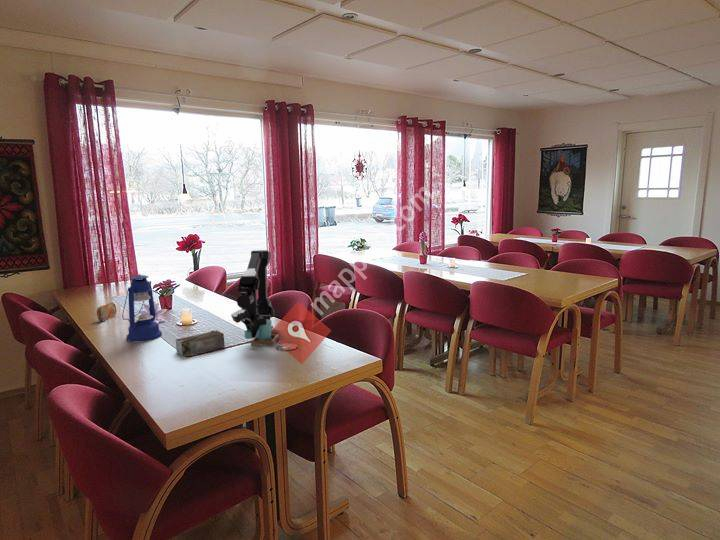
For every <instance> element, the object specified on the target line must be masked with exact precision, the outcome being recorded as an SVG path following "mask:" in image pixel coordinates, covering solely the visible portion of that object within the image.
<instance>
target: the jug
mask: <svg viewBox="0 0 720 540" xmlns="http://www.w3.org/2000/svg"><path fill="white" fill-rule="evenodd" d="M266 320H267V324H266V325H261V326H260V327H259V329H258V331H257V334H256V336H255V338H257V337H258V340H264V341H272V339H271V334H272V328H271V326H273V325H272V324H273V323H272V322H273V321H272V319H271V320H268V319H266ZM244 338H245V339H246V340H249V339H250V340H252V339H253V338H252V334H251V330H247V329H246V330H244Z"/></svg>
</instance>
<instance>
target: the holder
mask: <svg viewBox="0 0 720 540" xmlns="http://www.w3.org/2000/svg"><path fill="white" fill-rule="evenodd" d="M271 338H272V339H271V341H264V340H258V337H257V338H251V339H250V345H251V346H270V345H273V346H274V345H275V344H276V343H277V342H278V340H279V339H278V338H280V335H279V334H272V333H271ZM277 339H278V340H277ZM275 342H276V343H275ZM274 343H275V344H274Z"/></svg>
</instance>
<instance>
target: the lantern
mask: <svg viewBox="0 0 720 540" xmlns="http://www.w3.org/2000/svg"><path fill="white" fill-rule="evenodd" d="M148 278H149V276H148V275H146V274H145V275H144V274H137V275H134V276H131V277H129V279H130V280H131V282H130V287H128V288H127V290H126V291H127V292H126V297H125V301H124V307H123V310H122V320H123V321H125V320H128V322H129V326H128V333H127V335H126V340H127V341H128V340H129V341H128V342H132V341H142V342H147V341H148V340H149V341H153V340H155V339H159V338H161V337H162V336H161V335H162V331H161V330H160V326H159V323H157V322H155V321H154V320H155V308H154V302H155V301H154V294H153V288H152V281H149V280H148ZM127 298H128V317H129V318H124V311H125V307H126V304H127ZM145 301H148V306H149V307H150V308H149V311H150V315H145V314H140V311H142V310H143V309H144V305H143V304H145ZM135 302H139V304H140V305H141V308H140V309H139V310H137V311H136V314H135ZM140 302H142V303H140ZM145 307H146V306H145ZM137 312H138V313H137ZM139 314H140V315H139ZM160 336H161V337H160Z"/></svg>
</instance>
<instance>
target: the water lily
mask: <svg viewBox="0 0 720 540" xmlns="http://www.w3.org/2000/svg"><path fill="white" fill-rule="evenodd" d="M142 304H143V309H145V310H141V311H140V310H139V311H140V313H139V314H140V315H141V314H145V315H150V311H149V308H150V307H149V304H146V303H142ZM145 306H146V307H145ZM154 308H155V320H154V322H157V323H158V324H159V323H160V321H162V322H168V319H167V318H166V317H164V316H162V315H163V314H164V313H165V312H167V308H161V309H159V308H160V307H159V302H155V301H154ZM158 309H159V310H158ZM161 314H162V315H161Z"/></svg>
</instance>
